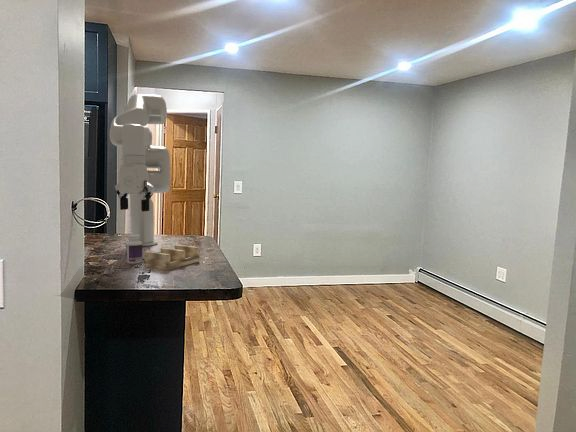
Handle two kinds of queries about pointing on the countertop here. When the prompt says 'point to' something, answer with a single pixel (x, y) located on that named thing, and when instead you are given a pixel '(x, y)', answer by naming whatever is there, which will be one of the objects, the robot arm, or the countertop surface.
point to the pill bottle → (133, 250)
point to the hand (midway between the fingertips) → (134, 210)
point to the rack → (172, 257)
